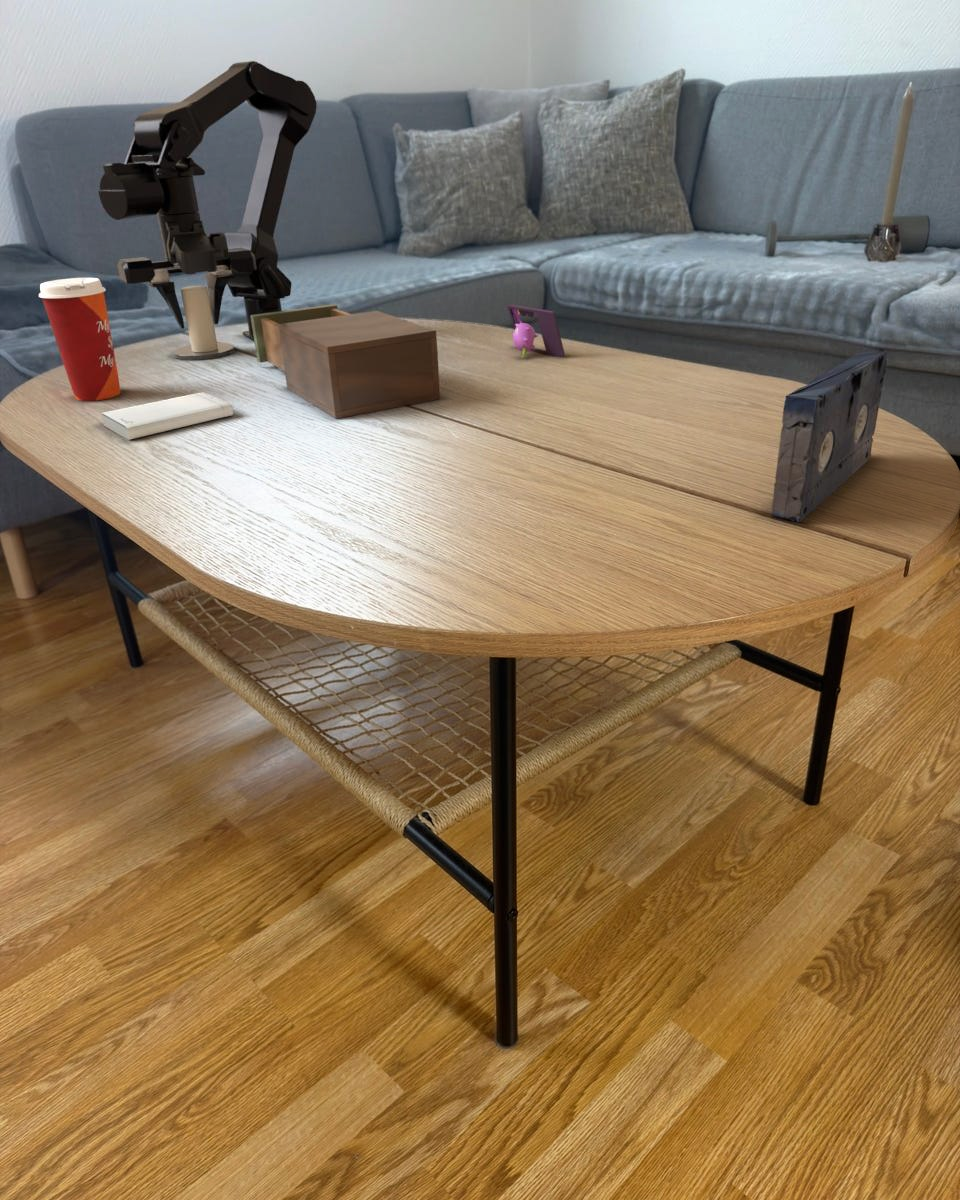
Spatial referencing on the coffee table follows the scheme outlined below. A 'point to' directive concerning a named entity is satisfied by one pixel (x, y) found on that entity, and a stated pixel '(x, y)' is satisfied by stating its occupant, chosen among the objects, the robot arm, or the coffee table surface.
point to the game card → (526, 333)
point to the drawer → (269, 330)
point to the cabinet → (360, 362)
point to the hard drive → (166, 415)
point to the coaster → (188, 354)
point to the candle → (199, 318)
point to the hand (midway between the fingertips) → (199, 326)
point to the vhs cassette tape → (827, 433)
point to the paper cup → (83, 336)
